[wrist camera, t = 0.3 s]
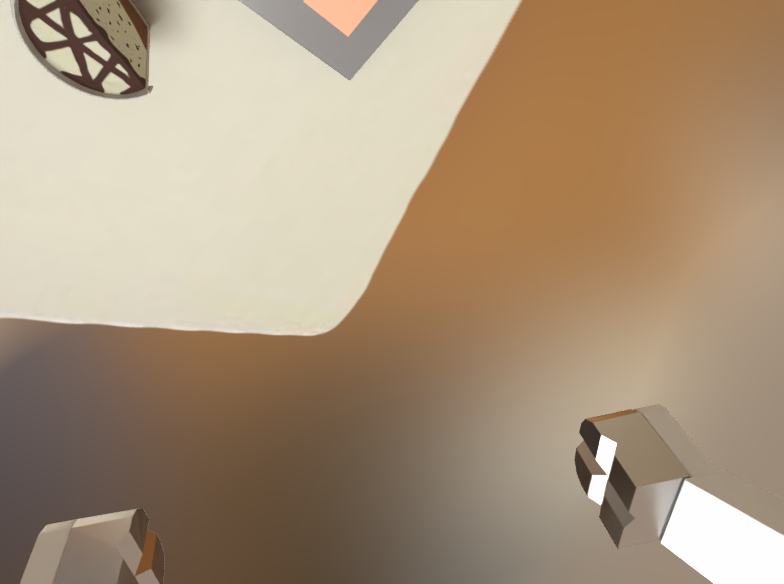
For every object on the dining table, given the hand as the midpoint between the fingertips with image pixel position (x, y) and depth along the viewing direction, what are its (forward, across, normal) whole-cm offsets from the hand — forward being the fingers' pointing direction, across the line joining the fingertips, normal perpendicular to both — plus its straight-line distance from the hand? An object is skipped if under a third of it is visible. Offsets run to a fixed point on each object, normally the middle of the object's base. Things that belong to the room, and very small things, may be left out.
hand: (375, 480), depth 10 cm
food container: (+53, +17, -5) cm, 56 cm away
